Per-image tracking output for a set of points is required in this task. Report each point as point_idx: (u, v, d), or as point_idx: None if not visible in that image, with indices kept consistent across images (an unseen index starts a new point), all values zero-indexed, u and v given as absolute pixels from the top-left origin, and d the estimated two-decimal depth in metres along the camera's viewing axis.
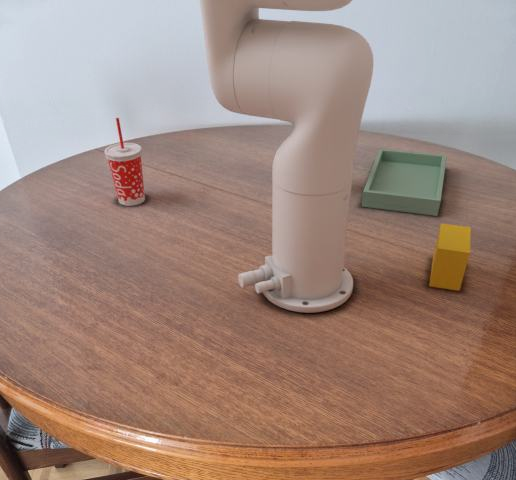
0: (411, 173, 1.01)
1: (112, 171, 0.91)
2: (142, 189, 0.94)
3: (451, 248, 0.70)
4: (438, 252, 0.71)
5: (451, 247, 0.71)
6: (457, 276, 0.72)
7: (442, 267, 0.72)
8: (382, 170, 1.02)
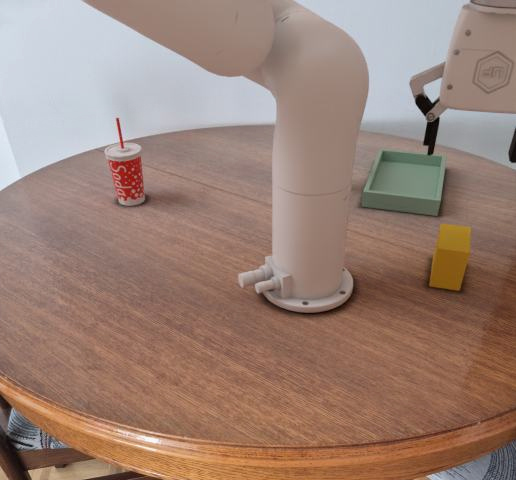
0: (411, 173, 1.01)
1: (112, 171, 0.91)
2: (142, 189, 0.94)
3: (451, 248, 0.70)
4: (438, 252, 0.71)
5: (451, 247, 0.71)
6: (457, 276, 0.72)
7: (442, 267, 0.72)
8: (382, 170, 1.02)
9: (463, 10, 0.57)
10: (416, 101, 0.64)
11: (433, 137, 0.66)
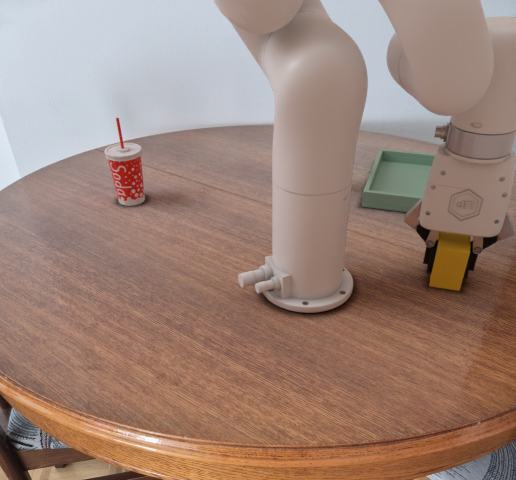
0: (411, 173, 1.01)
1: (112, 171, 0.91)
2: (142, 189, 0.94)
3: (451, 248, 0.70)
4: (438, 252, 0.71)
5: (451, 247, 0.71)
6: (457, 276, 0.72)
7: (442, 267, 0.72)
8: (382, 170, 1.02)
9: (438, 154, 0.65)
10: (417, 230, 0.73)
11: (432, 259, 0.74)
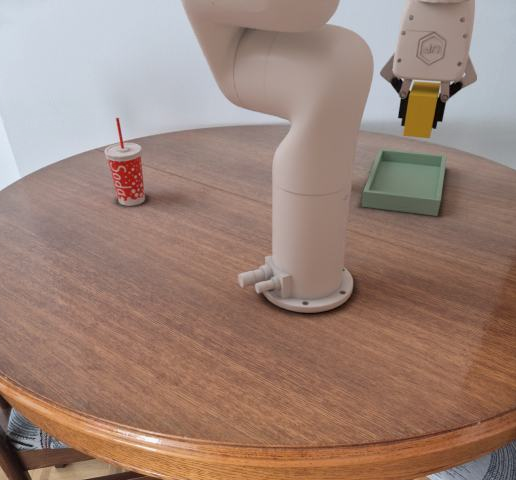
0: (411, 173, 1.01)
1: (112, 171, 0.91)
2: (142, 189, 0.94)
3: (421, 94, 0.79)
4: (409, 99, 0.80)
5: (421, 94, 0.80)
6: (427, 123, 0.81)
7: (414, 114, 0.81)
8: (382, 170, 1.02)
9: (407, 0, 0.74)
10: (391, 82, 0.82)
11: (405, 111, 0.83)
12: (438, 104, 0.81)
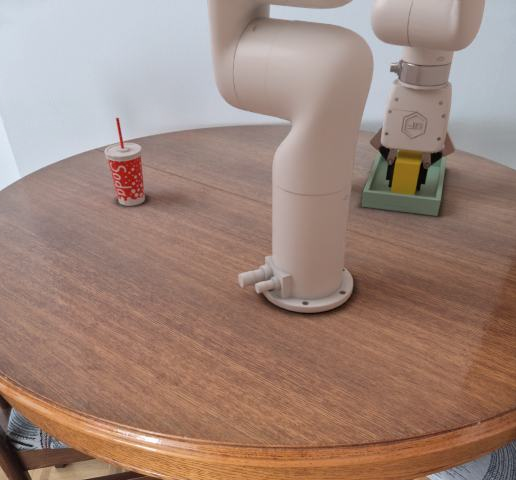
0: None
1: (112, 171, 0.91)
2: (142, 189, 0.94)
3: (406, 162, 0.90)
4: (396, 165, 0.90)
5: (406, 161, 0.90)
6: (411, 185, 0.92)
7: (399, 178, 0.91)
8: (382, 170, 1.02)
9: (393, 84, 0.85)
10: (380, 150, 0.92)
11: (392, 175, 0.94)
12: (421, 170, 0.92)
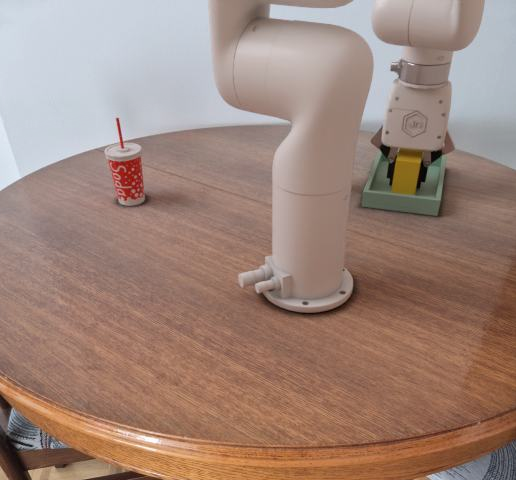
0: None
1: (112, 171, 0.91)
2: (142, 189, 0.94)
3: (406, 160, 0.90)
4: (396, 163, 0.91)
5: (406, 159, 0.91)
6: (411, 183, 0.92)
7: (400, 176, 0.92)
8: (382, 170, 1.02)
9: (393, 83, 0.85)
10: (380, 149, 0.93)
11: (392, 173, 0.94)
12: (421, 168, 0.92)
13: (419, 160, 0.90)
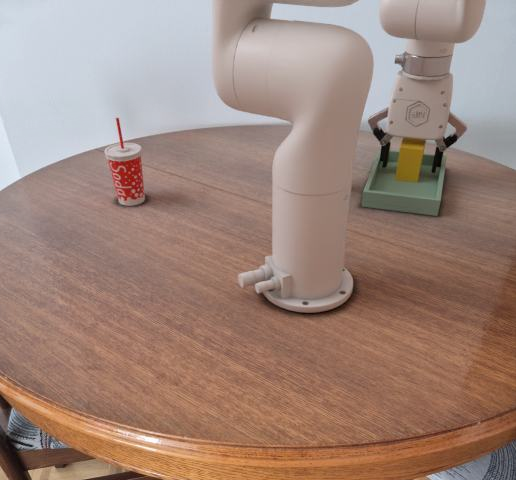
0: None
1: (112, 171, 0.91)
2: (142, 189, 0.94)
3: (410, 147, 0.95)
4: (400, 150, 0.95)
5: (410, 147, 0.95)
6: (415, 170, 0.96)
7: (404, 163, 0.96)
8: (382, 170, 1.02)
9: (397, 75, 0.90)
10: (373, 132, 0.97)
11: (385, 156, 0.99)
12: (437, 153, 0.96)
13: (422, 147, 0.94)
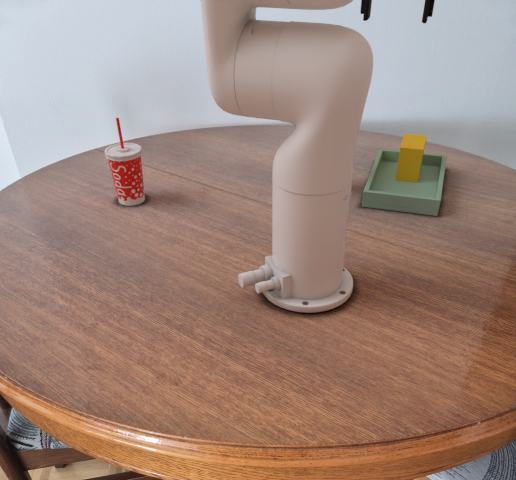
0: None
1: (112, 171, 0.91)
2: (142, 189, 0.94)
3: (410, 147, 0.95)
4: (400, 150, 0.95)
5: (410, 147, 0.95)
6: (415, 170, 0.96)
7: (404, 163, 0.96)
8: (382, 170, 1.02)
9: None
10: None
11: (366, 5, 0.90)
12: None
13: (422, 147, 0.94)
